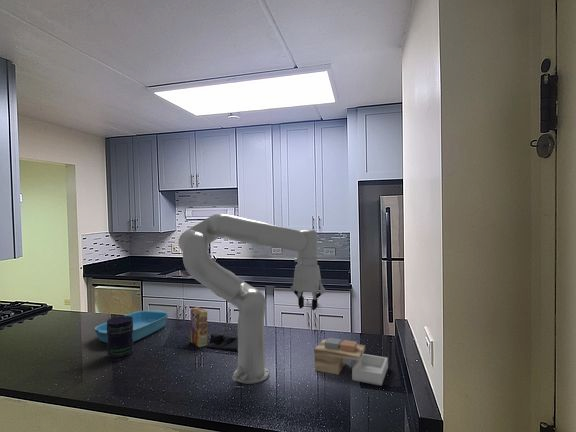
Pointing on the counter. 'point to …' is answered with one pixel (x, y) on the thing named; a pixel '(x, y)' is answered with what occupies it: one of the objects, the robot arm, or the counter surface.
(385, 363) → the tray
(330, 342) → the slate tile
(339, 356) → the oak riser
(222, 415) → the counter surface
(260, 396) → the counter surface
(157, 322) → the casserole dish
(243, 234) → the robot arm
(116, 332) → the storage jar
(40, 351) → the counter surface
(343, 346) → the terracotta tile
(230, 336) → the black flat block
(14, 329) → the counter surface
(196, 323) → the candy box
